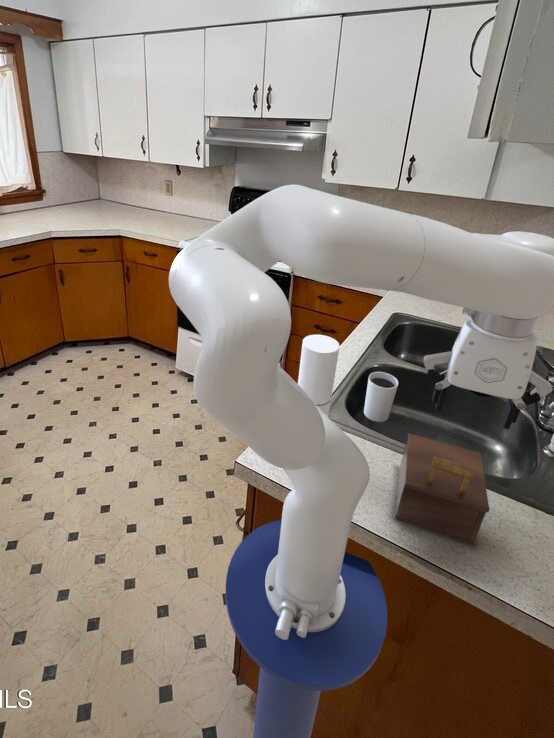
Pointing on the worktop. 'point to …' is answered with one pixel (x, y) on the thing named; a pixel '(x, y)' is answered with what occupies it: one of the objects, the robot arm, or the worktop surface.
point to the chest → (436, 511)
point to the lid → (446, 472)
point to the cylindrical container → (318, 369)
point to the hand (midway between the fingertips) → (470, 414)
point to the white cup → (380, 396)
